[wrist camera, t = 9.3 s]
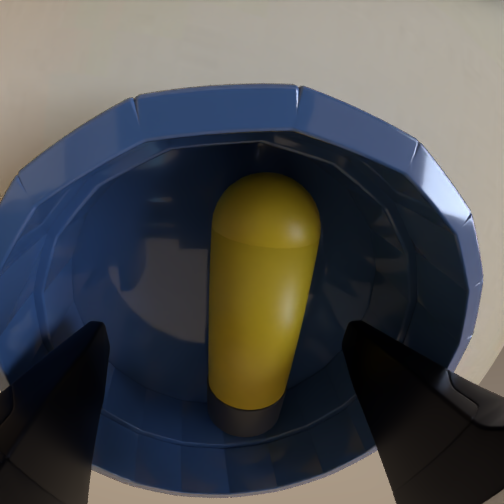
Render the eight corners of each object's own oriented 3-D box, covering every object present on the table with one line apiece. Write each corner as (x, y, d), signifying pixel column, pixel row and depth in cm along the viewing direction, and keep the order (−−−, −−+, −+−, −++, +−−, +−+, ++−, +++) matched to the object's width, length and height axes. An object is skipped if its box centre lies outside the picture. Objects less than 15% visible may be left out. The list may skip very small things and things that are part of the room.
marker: (247, 383, 12) (291, 421, 10) (194, 409, 10) (236, 457, 8) (274, 164, 8) (353, 184, 6) (190, 166, 7) (269, 187, 5)
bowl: (266, 422, 14) (286, 502, 9) (36, 336, 9) (-7, 425, 5) (433, 240, 10) (519, 303, 6) (160, 37, 6) (111, -52, 2)
